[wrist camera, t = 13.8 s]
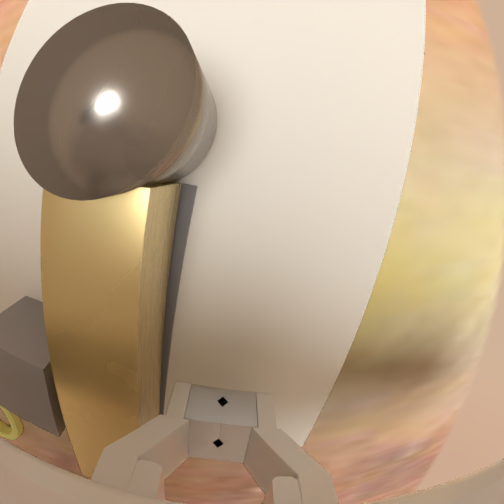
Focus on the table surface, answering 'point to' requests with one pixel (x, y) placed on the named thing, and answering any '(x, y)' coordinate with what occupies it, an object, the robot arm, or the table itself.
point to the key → (14, 429)
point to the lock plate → (246, 198)
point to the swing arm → (110, 205)
